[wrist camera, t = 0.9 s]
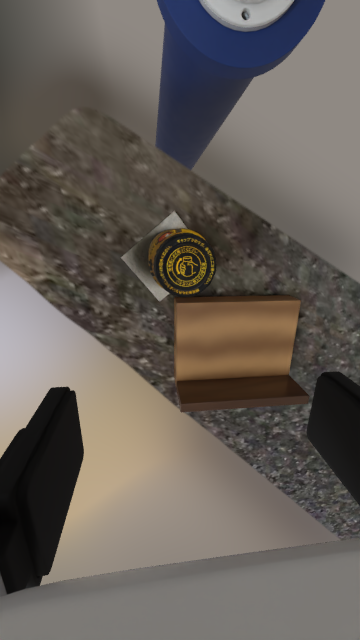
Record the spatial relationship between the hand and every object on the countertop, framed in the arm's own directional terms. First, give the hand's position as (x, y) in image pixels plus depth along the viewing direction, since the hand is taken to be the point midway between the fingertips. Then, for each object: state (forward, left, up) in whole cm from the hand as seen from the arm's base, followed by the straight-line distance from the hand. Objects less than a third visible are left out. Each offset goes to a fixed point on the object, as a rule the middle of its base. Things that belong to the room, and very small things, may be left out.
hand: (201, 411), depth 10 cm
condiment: (-3, 0, -25) cm, 25 cm away
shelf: (+8, +9, -25) cm, 28 cm away
